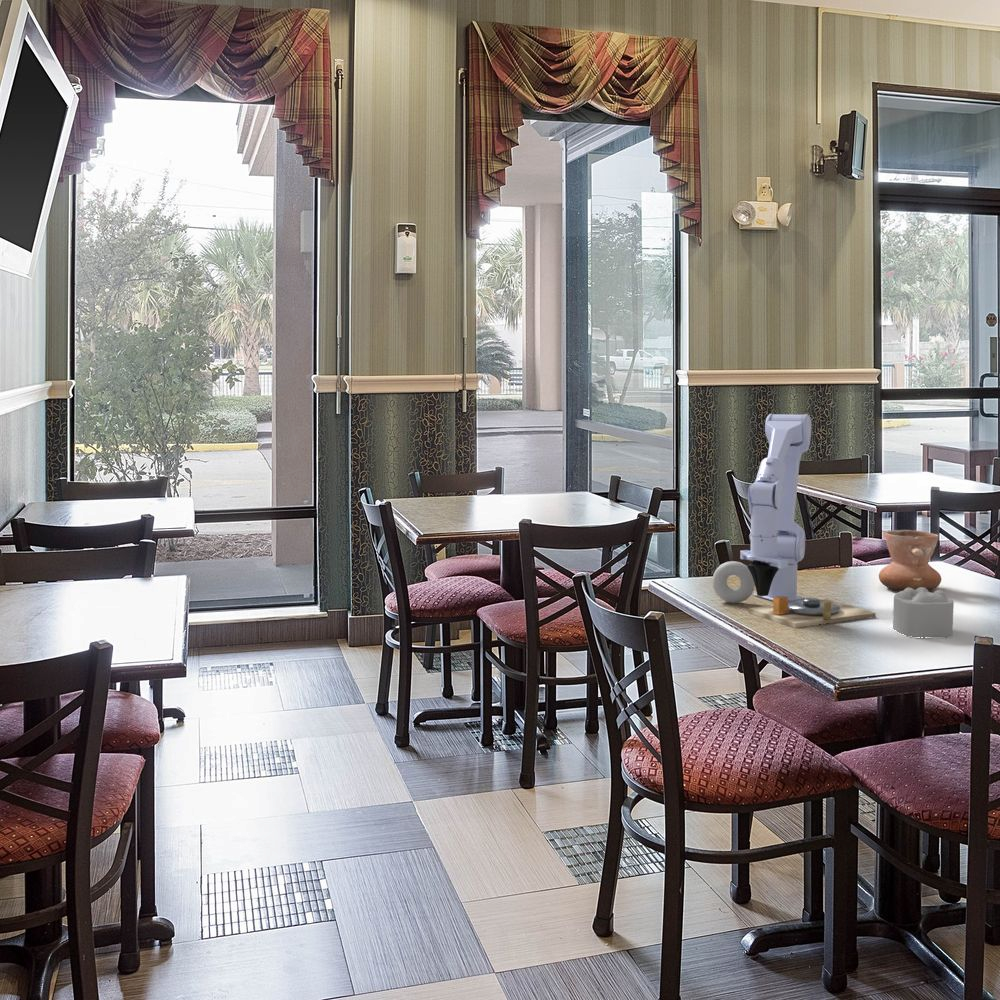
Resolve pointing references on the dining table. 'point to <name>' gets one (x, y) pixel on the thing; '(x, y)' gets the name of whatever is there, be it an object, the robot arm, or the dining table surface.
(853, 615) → the board
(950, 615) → the lumpy-topped squat cylinder
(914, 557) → the ceramic jug
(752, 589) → the donut
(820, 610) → the flange plate
